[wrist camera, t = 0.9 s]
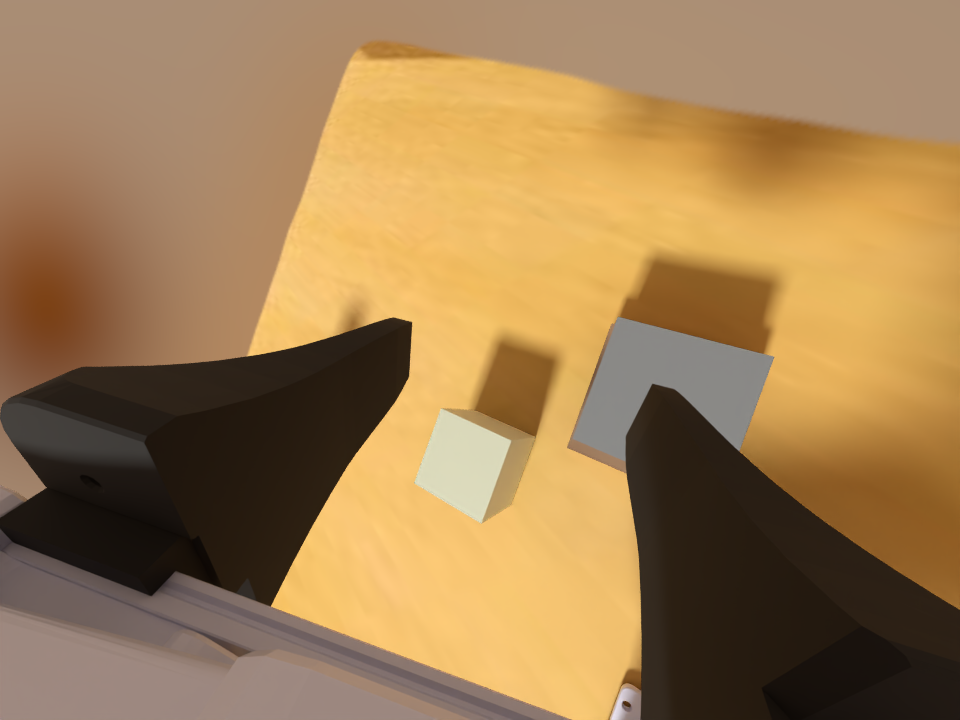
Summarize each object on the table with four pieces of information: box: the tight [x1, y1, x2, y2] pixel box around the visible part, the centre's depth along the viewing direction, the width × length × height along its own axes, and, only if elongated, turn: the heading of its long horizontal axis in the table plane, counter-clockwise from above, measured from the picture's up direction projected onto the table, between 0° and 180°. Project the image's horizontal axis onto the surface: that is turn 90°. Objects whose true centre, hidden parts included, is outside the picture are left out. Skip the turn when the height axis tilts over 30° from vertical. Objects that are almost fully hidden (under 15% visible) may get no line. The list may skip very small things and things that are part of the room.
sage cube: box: [414, 408, 536, 524], centre depth 24 cm, size 5×5×5 cm
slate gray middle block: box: [573, 317, 774, 462], centre depth 19 cm, size 7×7×2 cm
